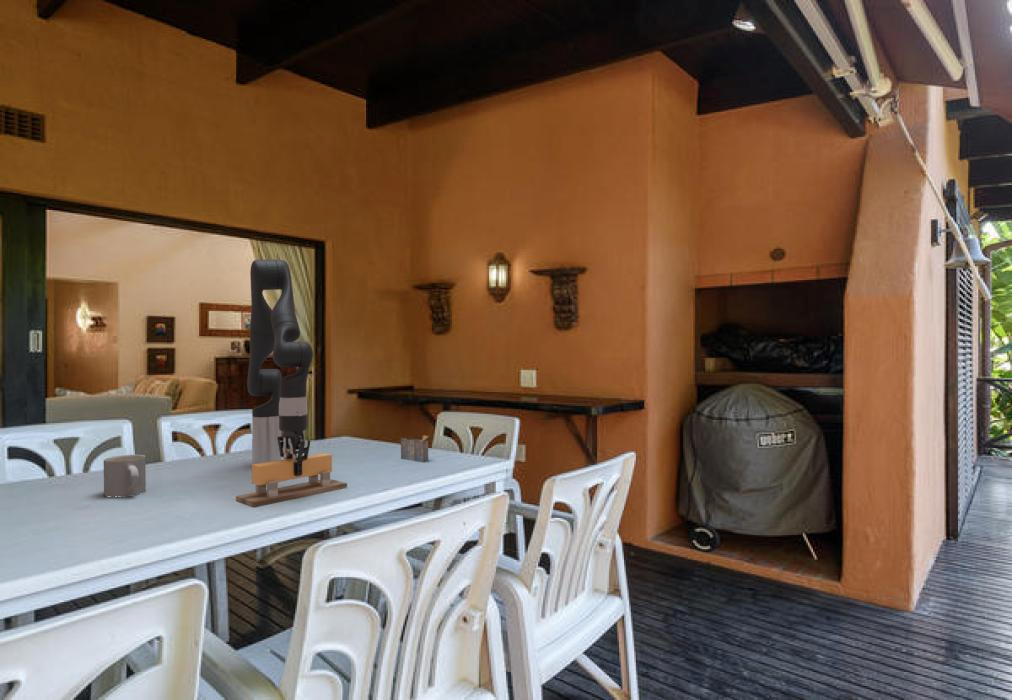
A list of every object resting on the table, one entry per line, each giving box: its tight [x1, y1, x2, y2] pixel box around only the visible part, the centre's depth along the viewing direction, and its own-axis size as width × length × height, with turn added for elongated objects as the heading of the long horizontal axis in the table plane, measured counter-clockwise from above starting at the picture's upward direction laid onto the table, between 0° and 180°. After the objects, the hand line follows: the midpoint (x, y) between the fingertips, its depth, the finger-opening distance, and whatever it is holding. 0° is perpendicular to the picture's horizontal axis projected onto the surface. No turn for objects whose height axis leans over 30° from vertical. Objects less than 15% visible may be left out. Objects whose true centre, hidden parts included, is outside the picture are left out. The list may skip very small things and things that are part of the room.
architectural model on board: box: [400, 434, 429, 463], centre depth 218 cm, size 11×3×10 cm, turn 53°
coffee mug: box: [103, 454, 147, 497], centre depth 168 cm, size 13×10×10 cm
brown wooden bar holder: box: [235, 471, 348, 508], centre depth 169 cm, size 10×28×5 cm, turn 139°
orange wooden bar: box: [251, 452, 333, 486], centre depth 169 cm, size 4×22×5 cm, turn 139°
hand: (293, 474), depth 169 cm, fingers closed on orange wooden bar, 4 cm apart
